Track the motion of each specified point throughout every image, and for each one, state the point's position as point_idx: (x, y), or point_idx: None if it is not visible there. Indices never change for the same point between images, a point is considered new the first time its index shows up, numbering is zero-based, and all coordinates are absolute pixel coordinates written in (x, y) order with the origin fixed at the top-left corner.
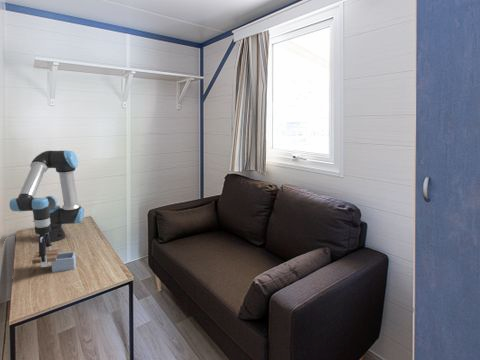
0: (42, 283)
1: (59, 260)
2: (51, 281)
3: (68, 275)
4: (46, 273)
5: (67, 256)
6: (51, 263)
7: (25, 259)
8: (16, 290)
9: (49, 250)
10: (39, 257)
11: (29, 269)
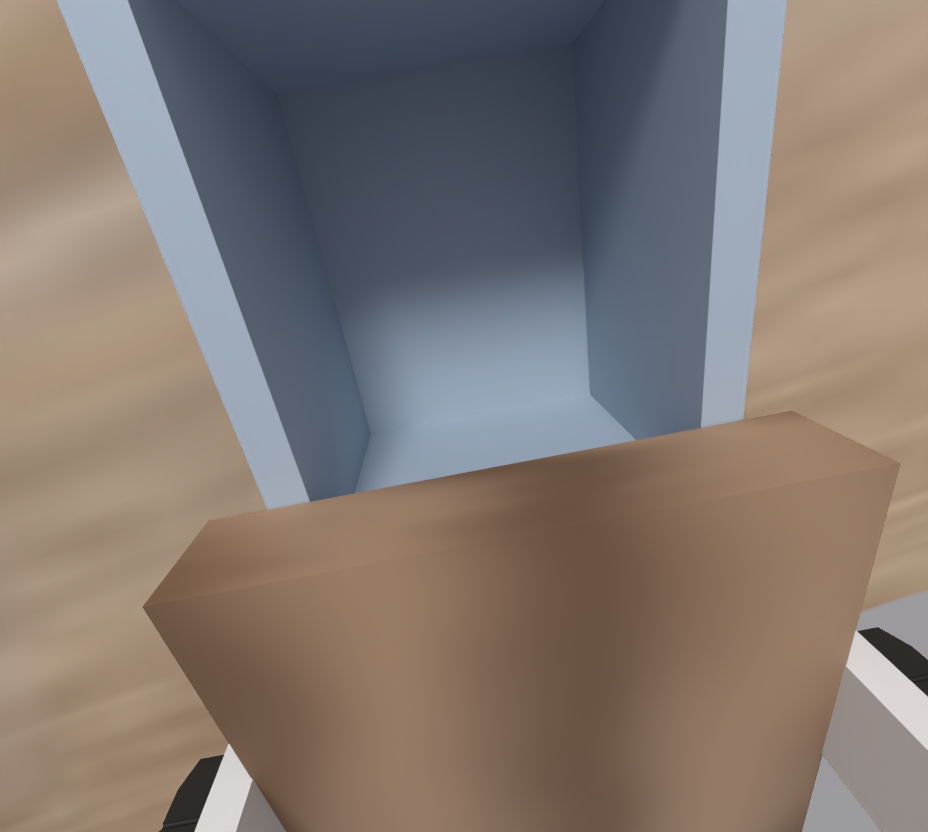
0: (884, 412)
1: (737, 328)
2: (890, 313)
3: (813, 76)
4: None
5: (267, 244)
6: None
7: None
8: (900, 598)
9: (257, 799)
10: (682, 809)
11: None
